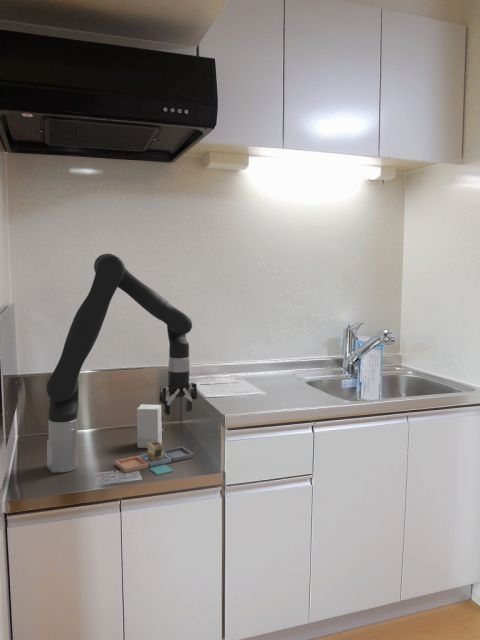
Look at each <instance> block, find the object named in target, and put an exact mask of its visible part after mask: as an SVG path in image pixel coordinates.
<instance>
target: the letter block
mask: <svg viewBox="0 0 480 640" xmlns="http://www.w3.org/2000/svg"><path fill="white" fill-rule="evenodd" d="M163 450H164V444H163V442H162V443H160V442H159V441H156V442H151V443H148V448H147V454H148V460H149V461H151V462H156V461H160V460H163Z"/></svg>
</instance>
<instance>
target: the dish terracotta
mask: <svg viewBox="0 0 480 640" xmlns="http://www.w3.org/2000/svg"><path fill="white" fill-rule="evenodd" d="M114 465H115V466H116V467H117V468H119V470H121V471H122V472H123V473H125V474H127V473H131V472H138V471H140V470H145V469H146V470H147V469H149V467H148V466H149V464H148V463H147V462H146V461H144V460H143V459H142V458H140V457H139V455H135V456H131V457H126V458H121V459H117V460H116V459H115V461H114Z"/></svg>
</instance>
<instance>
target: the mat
mask: <svg viewBox="0 0 480 640" xmlns="http://www.w3.org/2000/svg"><path fill="white" fill-rule="evenodd" d="M148 469H149V471H151V472H152V473H153V474H155V475H156V476H160V475H164V474H165V473H166V474H170V473H173V472H174V470H173V469H172V468H170V467H169V466H168V465H167V464H163V465H159V466H155V467H148Z"/></svg>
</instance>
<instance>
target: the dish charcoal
mask: <svg viewBox="0 0 480 640" xmlns="http://www.w3.org/2000/svg"><path fill="white" fill-rule="evenodd" d="M163 453H164V454H166V455H167V456H169V457H170V458H172V463H177V462H180V461H186V460H188V459H189V460H190V459H194V455H195V454H194V452H191V451H190V450H188V449H187V448H185V446H179V447H174V448H169V449H163Z"/></svg>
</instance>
